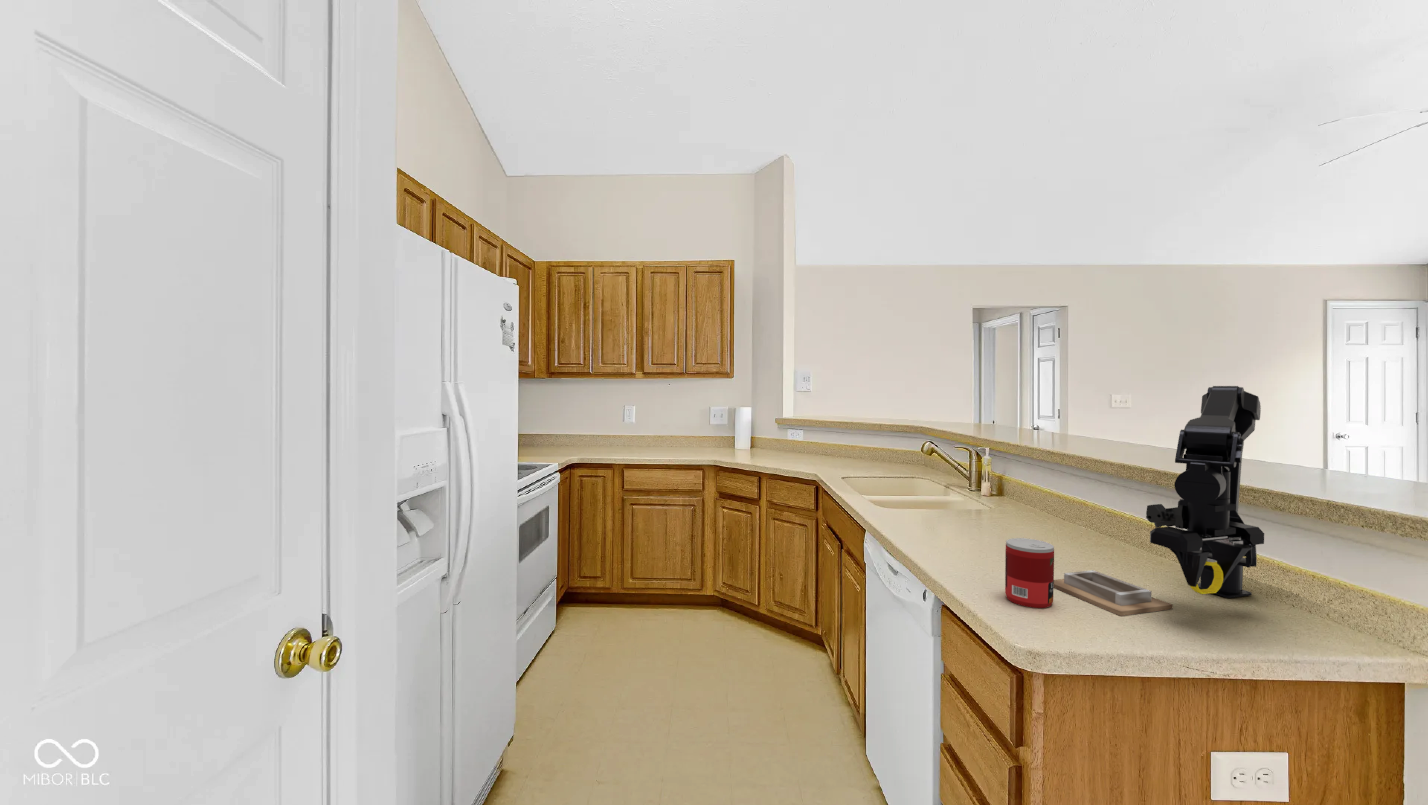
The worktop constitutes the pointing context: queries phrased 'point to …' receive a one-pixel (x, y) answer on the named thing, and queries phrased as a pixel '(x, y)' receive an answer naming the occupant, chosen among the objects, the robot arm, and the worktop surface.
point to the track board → (1110, 593)
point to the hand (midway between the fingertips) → (1205, 584)
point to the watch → (1216, 581)
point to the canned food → (1029, 572)
